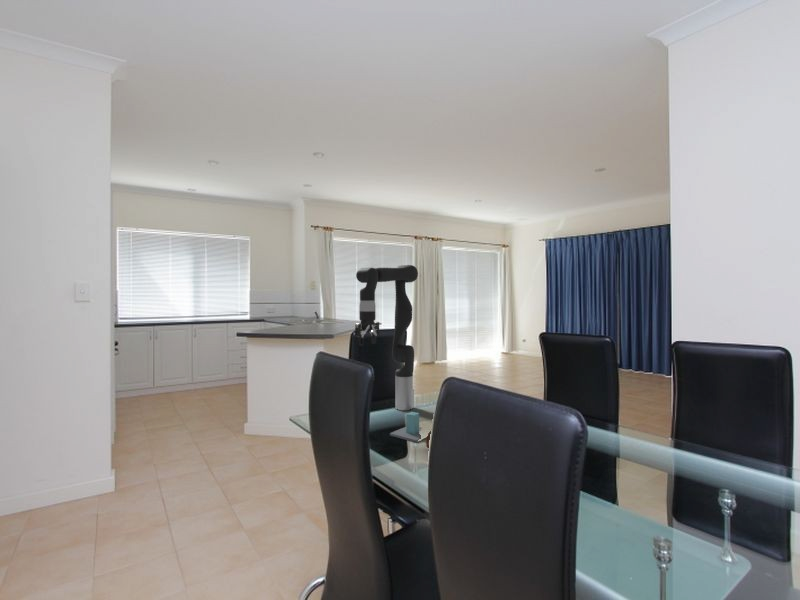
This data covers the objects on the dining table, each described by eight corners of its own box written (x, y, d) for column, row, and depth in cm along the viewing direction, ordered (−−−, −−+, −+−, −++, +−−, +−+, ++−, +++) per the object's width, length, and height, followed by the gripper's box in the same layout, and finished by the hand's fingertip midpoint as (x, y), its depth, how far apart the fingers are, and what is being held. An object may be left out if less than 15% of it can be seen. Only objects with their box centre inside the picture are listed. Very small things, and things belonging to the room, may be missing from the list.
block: (411, 430, 179) (411, 411, 179) (419, 431, 177) (419, 413, 176) (406, 432, 175) (406, 413, 175) (414, 434, 173) (414, 415, 173)
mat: (409, 427, 186) (409, 425, 186) (436, 433, 177) (436, 431, 177) (390, 435, 175) (389, 433, 175) (416, 442, 166) (416, 440, 166)
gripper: (362, 311, 186) (362, 347, 187) (383, 310, 198) (383, 343, 198) (350, 310, 191) (351, 345, 191) (371, 309, 202) (371, 342, 203)
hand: (367, 344), depth 195 cm, fingers open, 8 cm apart
